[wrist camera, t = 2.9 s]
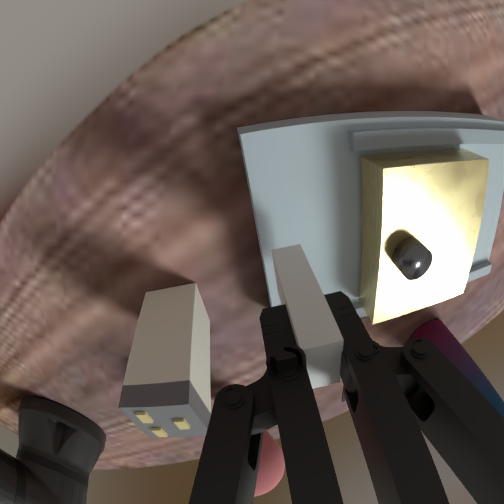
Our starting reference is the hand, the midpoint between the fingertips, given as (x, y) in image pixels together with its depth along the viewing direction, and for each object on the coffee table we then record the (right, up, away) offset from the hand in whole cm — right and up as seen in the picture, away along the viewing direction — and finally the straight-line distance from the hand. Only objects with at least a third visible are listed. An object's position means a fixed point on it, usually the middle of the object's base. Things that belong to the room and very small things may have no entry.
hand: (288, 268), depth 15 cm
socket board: (+8, +4, +4) cm, 10 cm away
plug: (-8, -3, +7) cm, 11 cm away
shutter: (+9, +3, +1) cm, 9 cm away
